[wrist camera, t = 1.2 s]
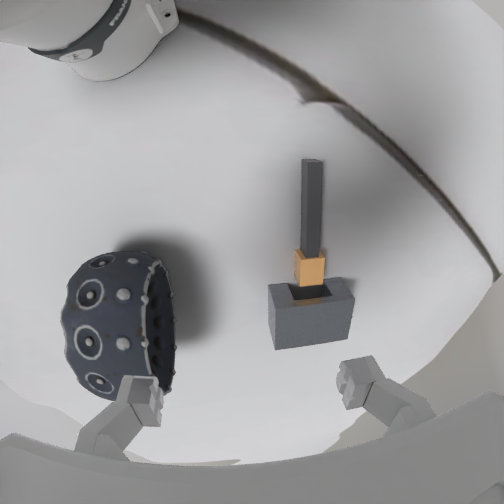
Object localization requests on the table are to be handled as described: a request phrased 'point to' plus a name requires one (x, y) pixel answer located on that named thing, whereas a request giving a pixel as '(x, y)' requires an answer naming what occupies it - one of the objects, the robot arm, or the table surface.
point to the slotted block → (310, 315)
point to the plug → (310, 226)
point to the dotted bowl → (119, 322)
